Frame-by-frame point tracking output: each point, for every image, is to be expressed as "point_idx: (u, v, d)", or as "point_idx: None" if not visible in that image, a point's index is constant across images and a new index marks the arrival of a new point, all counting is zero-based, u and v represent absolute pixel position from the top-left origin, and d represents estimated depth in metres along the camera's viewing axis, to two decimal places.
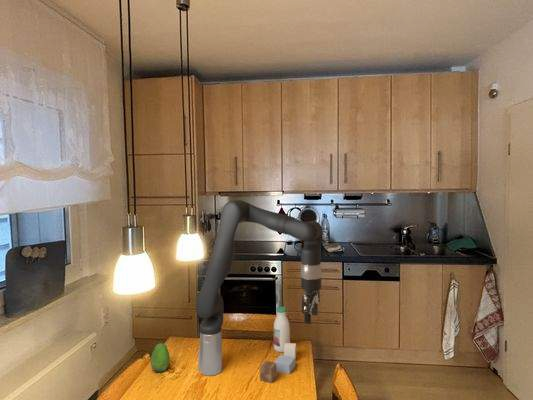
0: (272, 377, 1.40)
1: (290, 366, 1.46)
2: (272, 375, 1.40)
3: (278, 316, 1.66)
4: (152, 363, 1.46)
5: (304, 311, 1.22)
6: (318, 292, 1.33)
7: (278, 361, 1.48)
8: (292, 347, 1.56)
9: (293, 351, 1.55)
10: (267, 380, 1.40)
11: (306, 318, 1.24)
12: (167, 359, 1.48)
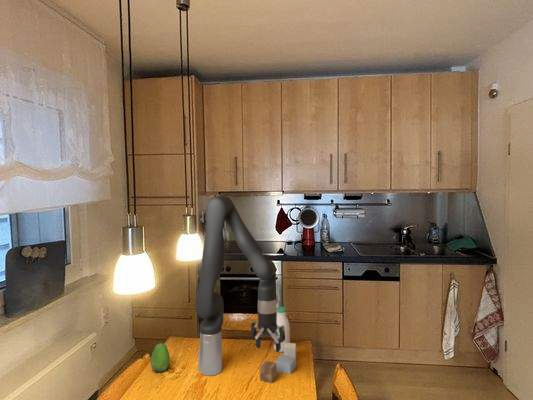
0: (272, 377, 1.40)
1: (291, 366, 1.47)
2: (272, 375, 1.40)
3: (278, 316, 1.66)
4: (152, 363, 1.46)
5: (283, 339, 1.38)
6: None
7: (279, 361, 1.48)
8: (292, 347, 1.56)
9: (293, 351, 1.55)
10: (267, 380, 1.40)
11: (279, 346, 1.39)
12: (167, 359, 1.48)
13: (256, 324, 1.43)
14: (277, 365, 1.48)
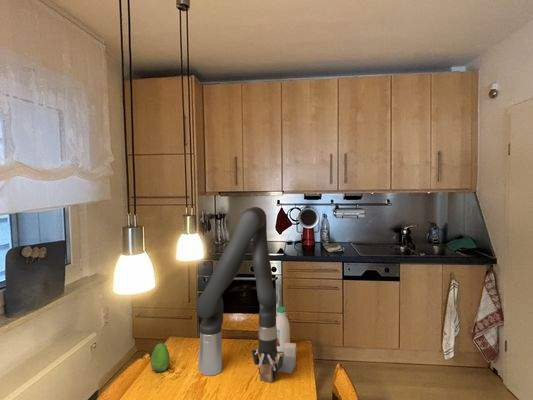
0: (272, 377, 1.40)
1: (291, 366, 1.47)
2: (272, 375, 1.40)
3: (278, 316, 1.66)
4: (152, 363, 1.46)
5: (280, 367, 1.39)
6: None
7: None
8: (292, 347, 1.56)
9: (293, 351, 1.55)
10: (267, 380, 1.39)
11: (276, 373, 1.40)
12: (167, 359, 1.48)
13: (256, 350, 1.43)
14: None
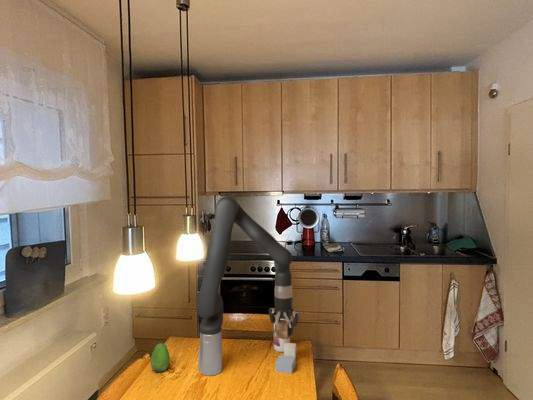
0: None
1: (292, 365, 1.47)
2: None
3: None
4: (152, 363, 1.46)
5: (295, 324, 1.46)
6: (273, 311, 1.52)
7: (279, 362, 1.48)
8: (292, 347, 1.56)
9: (293, 351, 1.55)
10: (283, 337, 1.46)
11: (292, 330, 1.47)
12: (167, 359, 1.48)
13: (273, 310, 1.50)
14: (278, 366, 1.47)
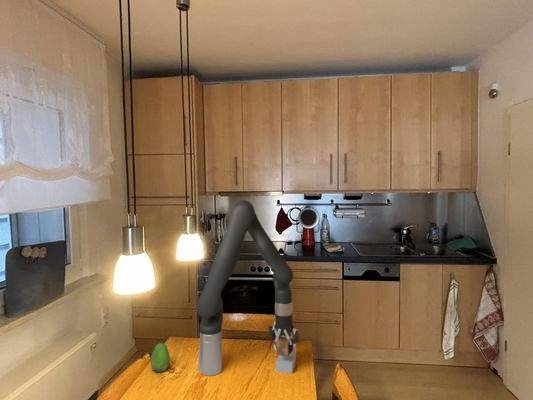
0: (288, 351, 1.47)
1: (292, 365, 1.47)
2: (288, 349, 1.47)
3: None
4: (152, 363, 1.46)
5: (296, 341, 1.47)
6: None
7: (280, 362, 1.48)
8: None
9: (293, 351, 1.55)
10: (283, 354, 1.47)
11: (292, 347, 1.48)
12: (167, 359, 1.48)
13: (273, 326, 1.51)
14: (278, 366, 1.47)
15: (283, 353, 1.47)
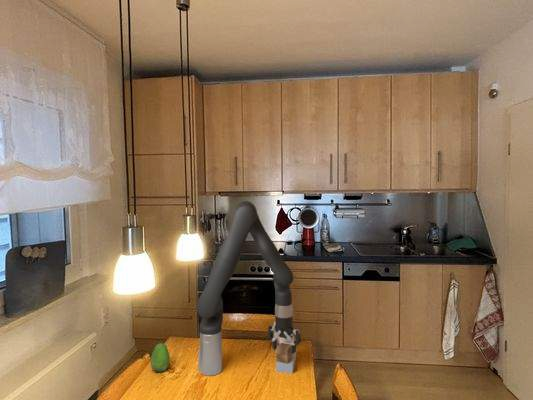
0: (288, 358, 1.47)
1: (292, 365, 1.47)
2: (288, 356, 1.47)
3: None
4: (152, 363, 1.46)
5: (299, 342, 1.46)
6: None
7: (280, 362, 1.48)
8: None
9: None
10: (283, 360, 1.47)
11: (295, 348, 1.47)
12: (167, 359, 1.48)
13: (273, 327, 1.51)
14: (278, 366, 1.47)
15: (283, 360, 1.47)
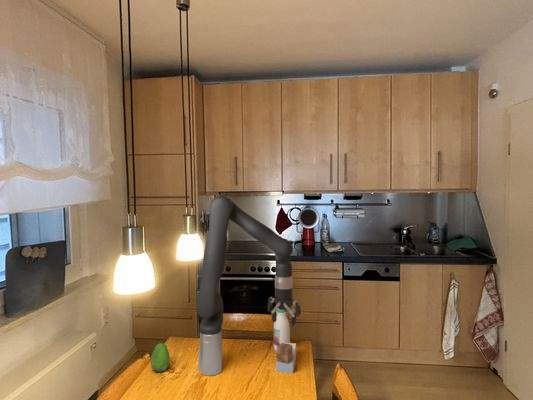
0: (288, 358, 1.47)
1: (293, 365, 1.47)
2: (288, 356, 1.47)
3: (278, 316, 1.66)
4: (152, 363, 1.46)
5: (298, 314, 1.46)
6: None
7: (280, 362, 1.48)
8: (292, 347, 1.56)
9: (293, 351, 1.55)
10: (283, 361, 1.47)
11: (295, 320, 1.47)
12: (167, 359, 1.48)
13: (273, 299, 1.50)
14: (279, 366, 1.47)
15: (283, 360, 1.47)
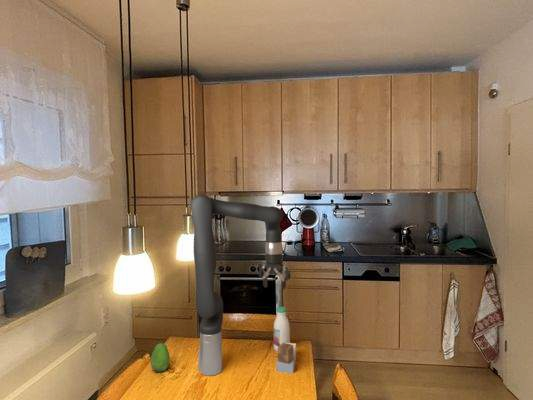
0: (289, 358, 1.47)
1: (293, 365, 1.47)
2: (289, 356, 1.47)
3: (278, 316, 1.66)
4: (152, 363, 1.46)
5: (288, 278, 1.51)
6: (263, 267, 1.58)
7: (280, 362, 1.48)
8: None
9: (293, 351, 1.55)
10: (284, 361, 1.47)
11: (285, 284, 1.52)
12: (167, 359, 1.48)
13: (264, 265, 1.56)
14: (279, 366, 1.47)
15: (284, 360, 1.47)
